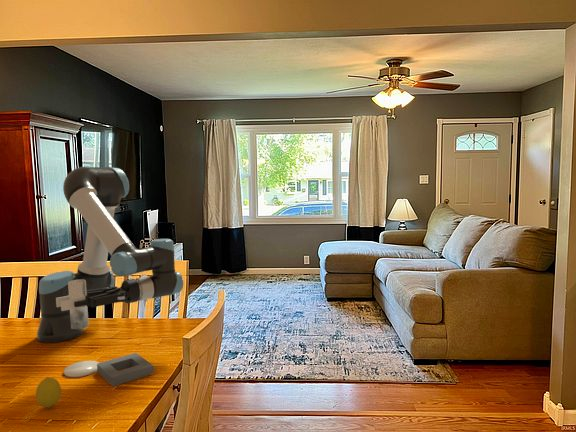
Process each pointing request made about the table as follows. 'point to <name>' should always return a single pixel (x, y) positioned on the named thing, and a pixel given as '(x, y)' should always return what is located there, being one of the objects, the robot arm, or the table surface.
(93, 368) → the coaster
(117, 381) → the pocket board
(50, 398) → the lemon
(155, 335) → the table surface
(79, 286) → the metal part
